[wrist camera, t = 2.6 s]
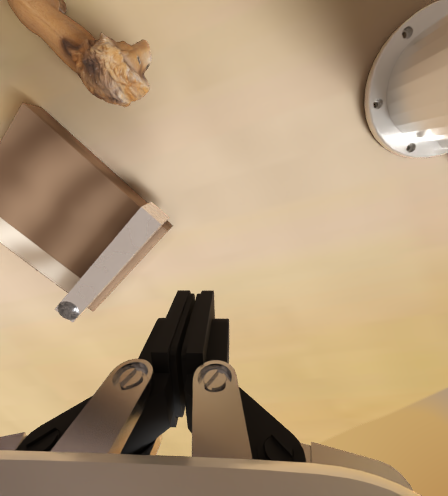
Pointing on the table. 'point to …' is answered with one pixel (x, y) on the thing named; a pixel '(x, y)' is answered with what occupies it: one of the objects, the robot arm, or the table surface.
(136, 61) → the lion figurine
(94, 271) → the folding leg
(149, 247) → the stool seat
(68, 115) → the table surface
